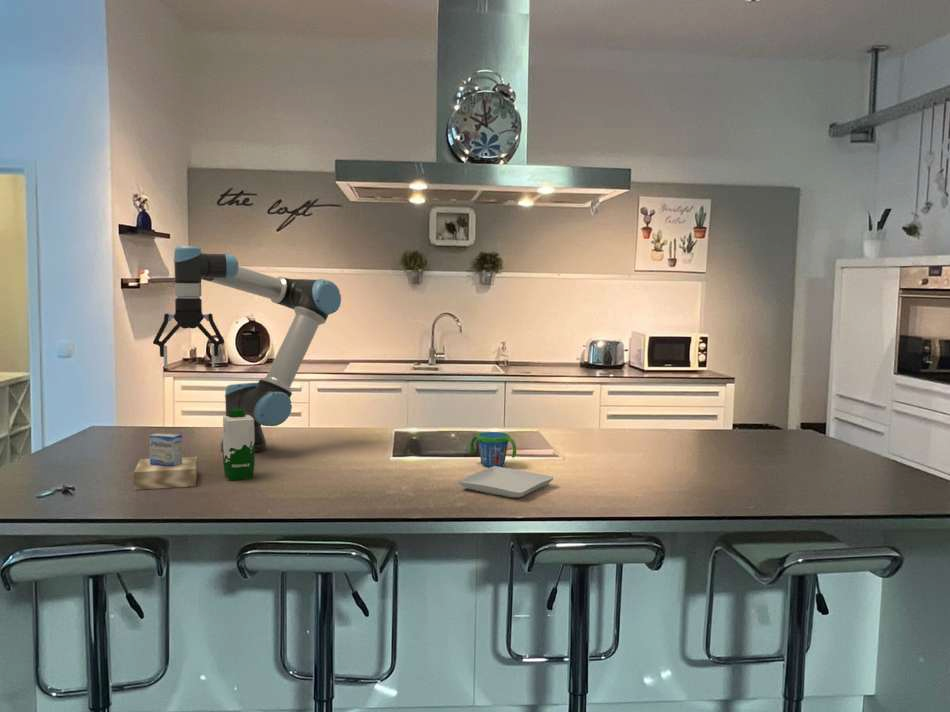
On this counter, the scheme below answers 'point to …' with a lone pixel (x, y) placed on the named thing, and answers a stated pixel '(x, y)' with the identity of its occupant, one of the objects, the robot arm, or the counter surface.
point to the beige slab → (165, 474)
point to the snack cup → (493, 448)
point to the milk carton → (238, 445)
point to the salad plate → (505, 481)
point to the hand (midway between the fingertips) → (189, 367)
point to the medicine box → (165, 449)
